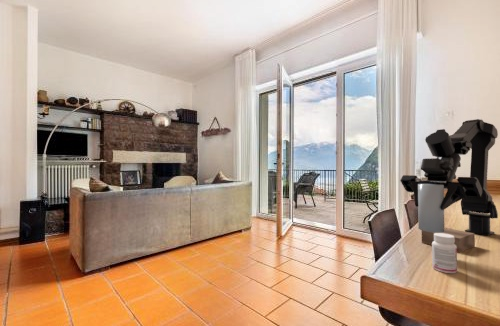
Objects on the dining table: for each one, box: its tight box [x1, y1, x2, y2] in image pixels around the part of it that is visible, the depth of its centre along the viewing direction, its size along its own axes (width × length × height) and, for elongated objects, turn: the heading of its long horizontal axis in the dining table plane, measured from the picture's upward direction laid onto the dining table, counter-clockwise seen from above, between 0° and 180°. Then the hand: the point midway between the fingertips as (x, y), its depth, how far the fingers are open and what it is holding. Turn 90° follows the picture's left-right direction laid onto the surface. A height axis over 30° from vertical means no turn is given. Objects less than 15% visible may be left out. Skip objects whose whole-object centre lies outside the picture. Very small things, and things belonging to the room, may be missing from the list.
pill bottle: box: [431, 233, 458, 274], centre depth 59 cm, size 5×5×8 cm
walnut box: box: [421, 227, 476, 253], centre depth 77 cm, size 10×10×4 cm
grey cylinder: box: [417, 184, 445, 233], centre depth 70 cm, size 6×6×13 cm
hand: (428, 207), depth 69 cm, fingers closed on grey cylinder, 6 cm apart
